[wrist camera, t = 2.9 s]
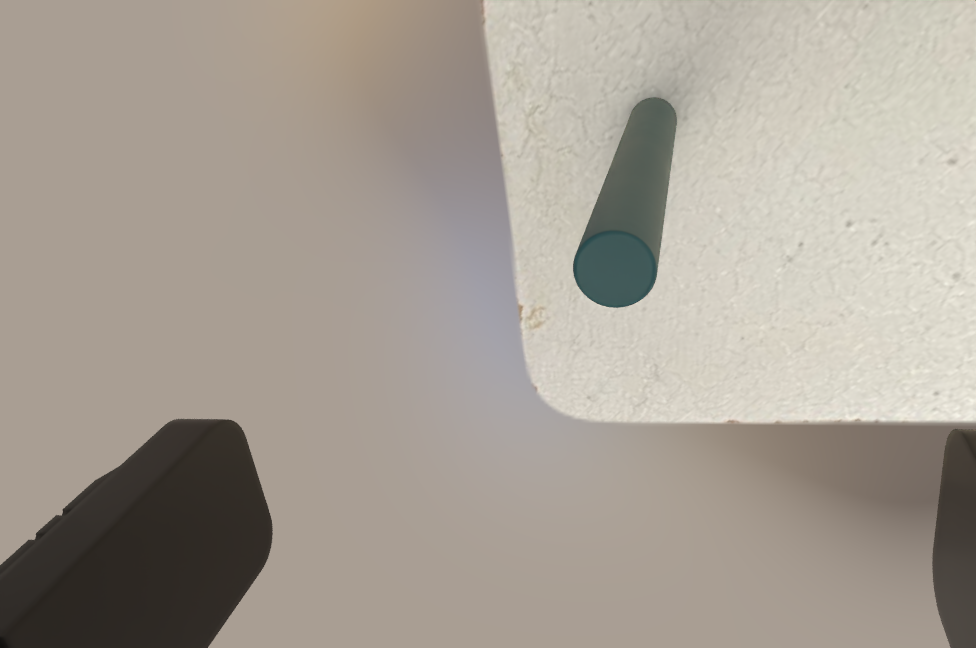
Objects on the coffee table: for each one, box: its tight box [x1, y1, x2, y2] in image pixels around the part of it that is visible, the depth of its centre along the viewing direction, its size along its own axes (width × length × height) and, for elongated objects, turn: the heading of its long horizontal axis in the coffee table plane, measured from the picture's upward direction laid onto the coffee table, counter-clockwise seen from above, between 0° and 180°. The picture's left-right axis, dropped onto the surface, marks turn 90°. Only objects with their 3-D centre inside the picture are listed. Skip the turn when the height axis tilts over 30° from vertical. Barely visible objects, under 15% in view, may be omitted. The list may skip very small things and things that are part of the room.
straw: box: [573, 98, 677, 308], centre depth 21 cm, size 2×2×14 cm
